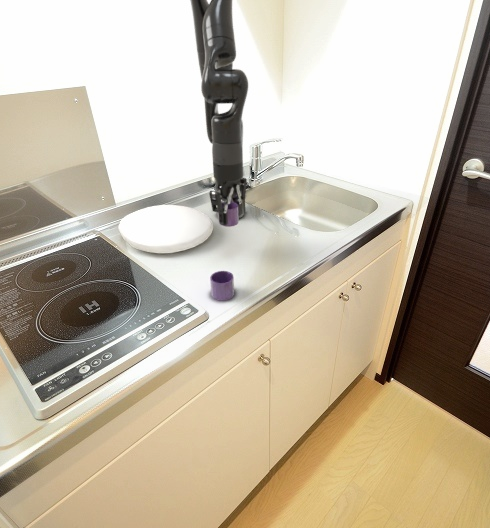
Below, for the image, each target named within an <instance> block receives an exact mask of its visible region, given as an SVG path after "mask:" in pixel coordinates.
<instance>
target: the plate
mask: <svg viewBox="0 0 490 528" xmlns="http://www.w3.org/2000/svg"><path fill="white" fill-rule="evenodd" d="M213 229H214V222H213V221H212V220H211V218H210V217H209V216H208V215H207V214H206V213H204V212H202V211H201V210H198V209H196V208H193V207H190V206H185V205H184V206H183V205H178V204H177V205H175V204H160V205H159V204H158V205H153V206H152V205H151V206H147V207H144V208H141V209H139V210H138V209H137V210H136V211H134V212H131V213H129V214H127V215H125V216H124V217H123V218H122V219H121V220H120V222H119V224H118V231H119V233H120V235H121V237H122V239H123V240H124V241H125V242H126V243H127V244H128V245H129V246H131V247H132V248H134V249H137V250H139V251H142V252H146V253H151V254H152V253H154V254H173V253H178V252H182V251H186V250H189V249H193V248H195V247H197V246H200V245H201V244H203V243H205V241H206V240H207V239H208V238H210V236H212V233H213Z"/></svg>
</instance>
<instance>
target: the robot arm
mask: <svg viewBox="0 0 490 528" xmlns="http://www.w3.org/2000/svg"><path fill="white" fill-rule="evenodd" d="M189 1H190V6H191V12H192V21H193V27H194V28H193V29H194V35H195V46H196V53H197V59H198V60H197V61H198V66H199V72H200V78H201V79H200V80H201V82H200V90H201V94H202V97H203V100H204V112H205V126H206V134H207V135H206V136H207V139H208V141H209V143H210V144H211V145H212V146H211V153H212V155H211V156H212V169H213V170H212V171H213V178H214V183H215V189H214V190H210V191H209V192H208V195H209V199H210V205H211V209H212V210H211V211H212V212H214V213H216V215H217V217H218V213H219V221H218V224H219V223H220V224H221V225H220V224H219V225H220V226H222V225H224V226H223V227H226V225H227V224H228V218H227V208H228V205H229V204H230V202H235V203H237V204H238V215H239V219H241V218H243V217H244V215H245V213H246V194H247V188H249V189H251V188H252V187H251V185H250V186H249V184H247V181H248V179H247V178H246V177H244V157H243V156H244V152H243V151H244V150H243V148H244V145H243V144H244V121H243V113H244V108H245V104H246V102H247V101H246V100H247V97H248V92H249V80H248V77H247V75H246V73H245V72H244V71H243V70H241V69H238V68H233V67H234V62H235V61H236V59H237V48H236V47H237V46H236V38H235V31H234V30H235V29H234V21H233V20H234V19H233V0H210V2H208V0H189ZM219 104H221V105H222V104H223V105H224V104H231V107H230V108H229V109H228V110H227V111H224V112H222V113H219ZM222 203H223V204H224V208H222Z"/></svg>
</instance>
